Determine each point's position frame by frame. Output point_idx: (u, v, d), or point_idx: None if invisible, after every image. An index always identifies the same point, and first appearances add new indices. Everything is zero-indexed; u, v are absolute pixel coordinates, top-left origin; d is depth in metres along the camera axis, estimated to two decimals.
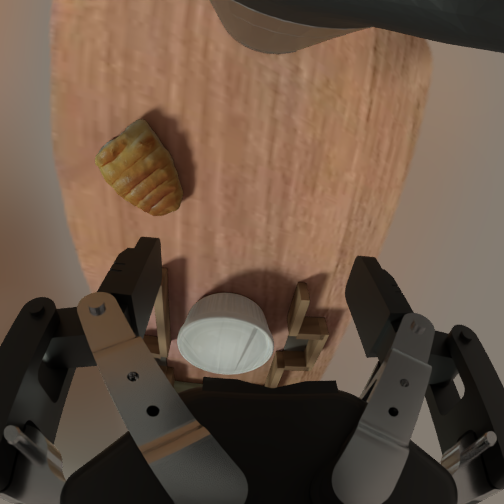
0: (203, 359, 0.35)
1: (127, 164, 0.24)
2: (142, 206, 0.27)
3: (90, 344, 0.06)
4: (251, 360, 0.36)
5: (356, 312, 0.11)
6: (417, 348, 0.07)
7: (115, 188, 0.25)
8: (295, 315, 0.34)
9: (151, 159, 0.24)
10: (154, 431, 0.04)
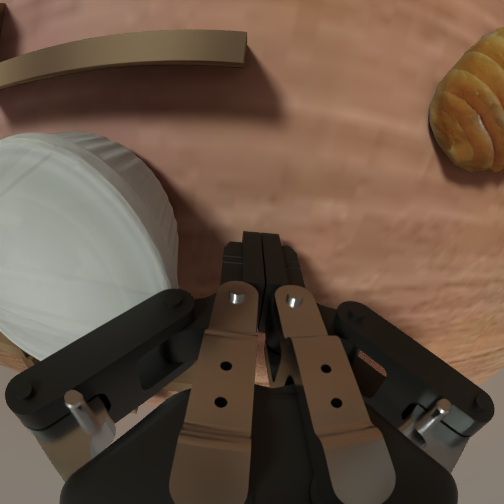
0: None
1: None
2: (484, 96, 0.08)
3: (211, 322, 0.08)
4: (26, 333, 0.11)
5: None
6: (308, 322, 0.08)
7: None
8: None
9: None
10: (208, 418, 0.05)
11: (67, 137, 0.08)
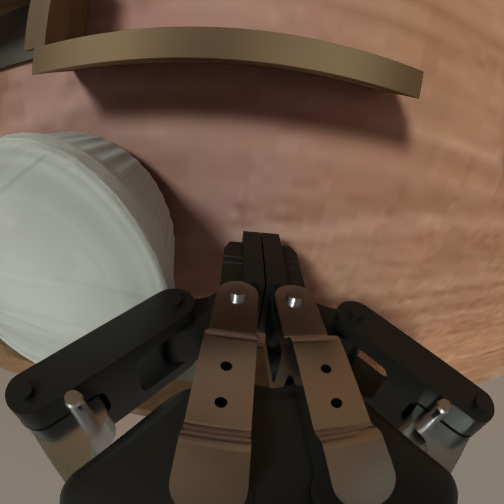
0: None
1: None
2: None
3: (211, 322, 0.08)
4: (21, 335, 0.11)
5: None
6: (308, 322, 0.08)
7: None
8: None
9: None
10: (208, 418, 0.05)
11: (62, 137, 0.08)
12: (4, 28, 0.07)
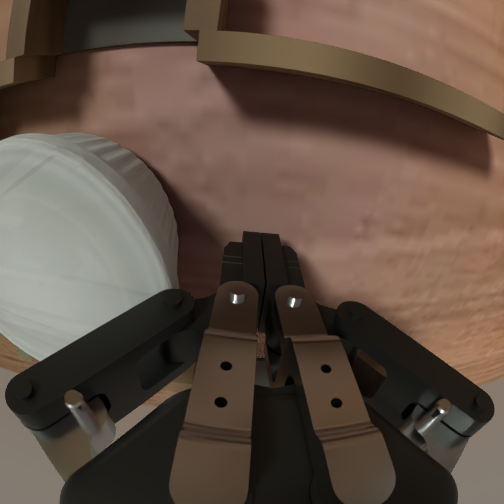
0: None
1: None
2: None
3: (211, 322, 0.08)
4: (25, 333, 0.11)
5: None
6: (308, 322, 0.08)
7: None
8: None
9: None
10: (208, 418, 0.05)
11: (69, 138, 0.08)
12: (107, 1, 0.08)
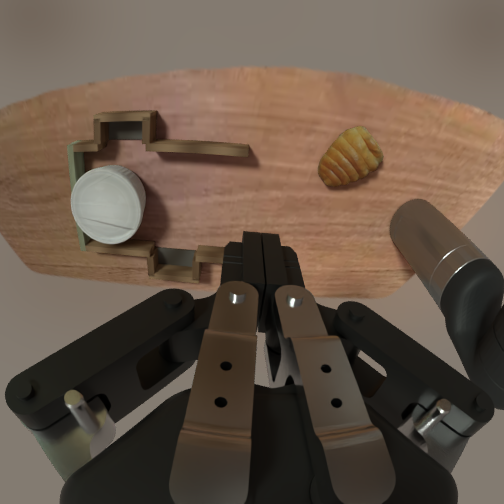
0: (87, 190, 0.36)
1: (366, 159, 0.36)
2: (331, 163, 0.38)
3: (211, 322, 0.08)
4: (92, 228, 0.39)
5: None
6: (308, 322, 0.08)
7: (347, 146, 0.36)
8: (218, 256, 0.44)
9: (366, 173, 0.38)
10: (208, 418, 0.05)
11: (115, 168, 0.37)
12: (121, 124, 0.36)
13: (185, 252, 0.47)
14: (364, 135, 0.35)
